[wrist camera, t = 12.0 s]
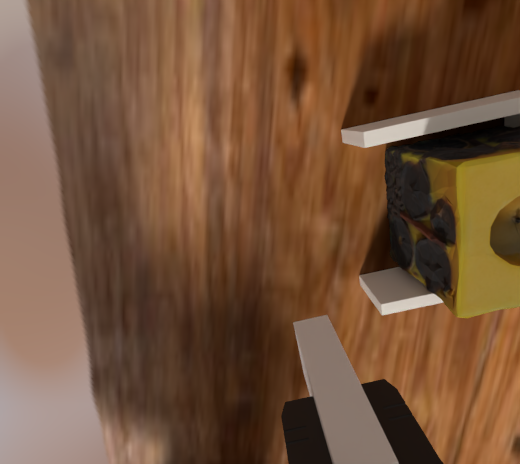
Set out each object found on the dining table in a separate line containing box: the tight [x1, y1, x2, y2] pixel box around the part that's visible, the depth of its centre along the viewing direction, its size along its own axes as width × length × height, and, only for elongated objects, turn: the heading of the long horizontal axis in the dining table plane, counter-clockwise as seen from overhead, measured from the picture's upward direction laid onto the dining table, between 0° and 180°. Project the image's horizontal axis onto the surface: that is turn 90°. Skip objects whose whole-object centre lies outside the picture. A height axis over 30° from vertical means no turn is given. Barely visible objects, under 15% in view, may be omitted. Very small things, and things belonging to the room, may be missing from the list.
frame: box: [341, 90, 520, 315], centre depth 26 cm, size 14×14×5 cm
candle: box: [385, 126, 520, 318], centre depth 24 cm, size 10×10×10 cm
